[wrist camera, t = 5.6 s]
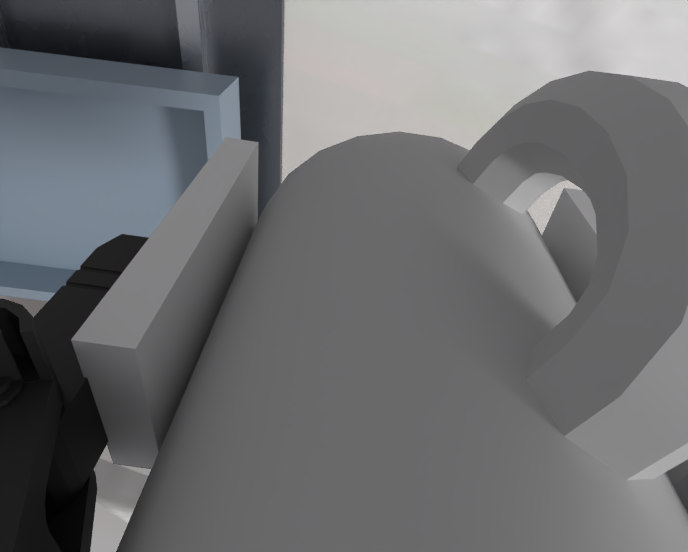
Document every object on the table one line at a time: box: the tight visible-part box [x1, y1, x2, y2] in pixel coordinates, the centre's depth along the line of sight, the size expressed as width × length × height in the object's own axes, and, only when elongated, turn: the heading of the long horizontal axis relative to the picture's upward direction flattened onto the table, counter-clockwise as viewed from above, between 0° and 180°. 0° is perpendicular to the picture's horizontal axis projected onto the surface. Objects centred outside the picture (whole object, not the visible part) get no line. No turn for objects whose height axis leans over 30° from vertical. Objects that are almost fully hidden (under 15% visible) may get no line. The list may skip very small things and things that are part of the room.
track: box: [0, 0, 284, 220], centre depth 28 cm, size 30×22×2 cm
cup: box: [116, 71, 688, 552], centre depth 8 cm, size 7×10×9 cm
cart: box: [0, 47, 241, 301], centre depth 28 cm, size 15×19×6 cm
